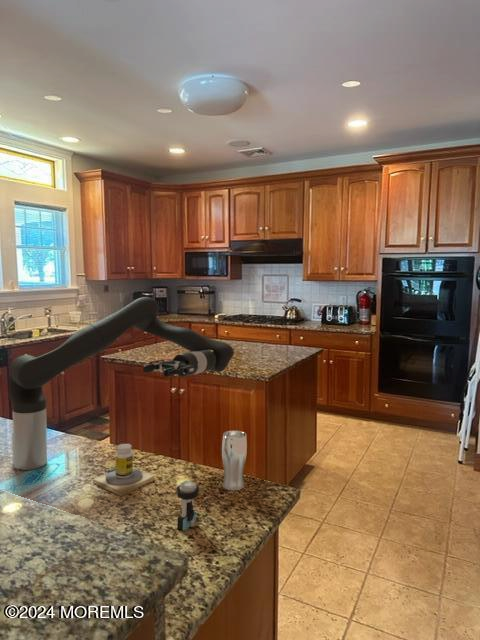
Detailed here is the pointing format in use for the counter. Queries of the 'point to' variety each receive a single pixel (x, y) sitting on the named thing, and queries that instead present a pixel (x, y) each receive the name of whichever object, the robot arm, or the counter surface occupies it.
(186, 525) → the push button
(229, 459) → the beer glass
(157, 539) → the counter surface
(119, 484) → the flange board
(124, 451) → the supplement bottle
